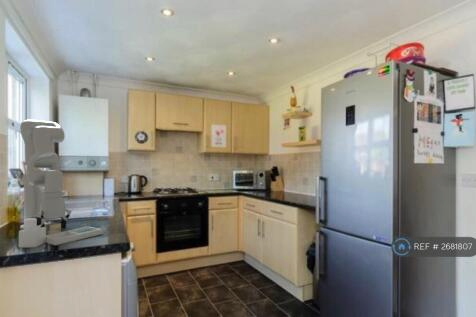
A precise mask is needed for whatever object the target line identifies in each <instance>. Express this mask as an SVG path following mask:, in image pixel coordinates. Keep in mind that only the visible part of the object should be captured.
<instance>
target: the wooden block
mask: <svg viewBox="0 0 476 317" xmlns="http://www.w3.org/2000/svg"><path fill="white" fill-rule="evenodd" d="M45 227H46V235H49V234H54V233H59V232H62V228H61V222H50V223H49V222H48V224H45Z"/></svg>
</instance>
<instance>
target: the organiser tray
mask: <svg viewBox="0 0 476 317" xmlns="http://www.w3.org/2000/svg"><path fill="white" fill-rule="evenodd" d="M99 235H103V229H102V228H98V227H94V226H93V227H92V226H85V227H79V228H75V229H70V230H65V231H61V232H59V233H54V234H49V235H46V243H45V244H50V245H53V246H58V245H62V244H66V243H71V242H75V241H79V240H83V239H86V238H87V239H88V238H91V237H95V236H99Z"/></svg>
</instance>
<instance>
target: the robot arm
mask: <svg viewBox="0 0 476 317" xmlns="http://www.w3.org/2000/svg"><path fill="white" fill-rule="evenodd" d="M19 130H20V133H21V138H22V139H23V143H24V151H25V152H24V153H25V154H24V158H25V166H26V172H24V173H23V175H22V183H23V190H24V192H23V194H24V197H23V198H24V202H23V210H24V211H23V221H24V220H25V219H27V218H31V217H39V218H41V227H45V224H49V222H47V221H48V220H49V221H50V220H55V219H61V220H60V223H61V230H62V229H64V230H65V229H66V227H67V221H68V219H69V218H70V217H71V213H72V210H70V209H67V208H66V204H65V203H66V202H65V198H64V196H65V195H66V193H65V192H63V180H64V179H63V178H64V177H63V176H64V175H63V171H62V170H60V158H59V156H58V154H57V153H56V151H55V145H54V143H62V142H64V141H65V138H66V136H65V131H64V129H63V128H62V126H60V125H59V124H58V123H57V122H54V121H48V120H47V121H45V120H38V119H37V120H36V119H26V120H23V121H22V122H21V123H20V128H19ZM36 169H37V170H36ZM39 169H40V170H39ZM44 169H45V170H44ZM41 188H44V189H43V190H42V189H41ZM19 226H20V227H19V228H20V229H21V230H24V229H25V228H24V224H22V225H19Z"/></svg>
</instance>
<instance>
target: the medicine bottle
mask: <svg viewBox="0 0 476 317" xmlns="http://www.w3.org/2000/svg"><path fill="white" fill-rule="evenodd" d="M23 225H24V228H25V229H21V230H18V248H22V249H26V248H27V249H28V248H37V247H39V246H41V245H44V244H47V243H46V227H41V218H39V217H31V218H27V219H25V220H24V219H23Z"/></svg>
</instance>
